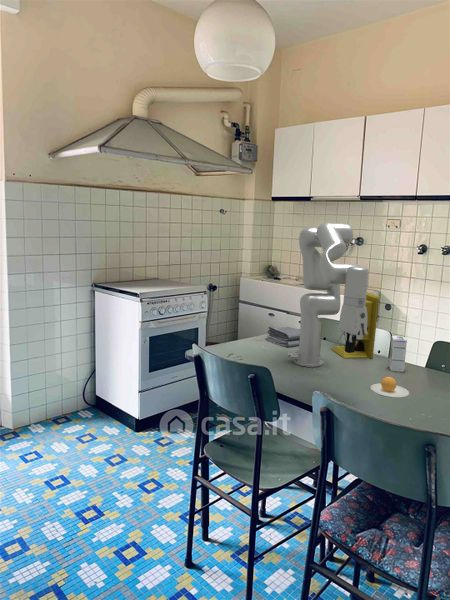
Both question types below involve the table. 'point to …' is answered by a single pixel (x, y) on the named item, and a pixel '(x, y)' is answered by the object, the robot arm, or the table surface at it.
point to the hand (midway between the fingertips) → (349, 352)
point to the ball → (388, 384)
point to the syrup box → (397, 353)
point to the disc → (396, 393)
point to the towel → (284, 336)
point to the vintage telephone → (366, 344)
